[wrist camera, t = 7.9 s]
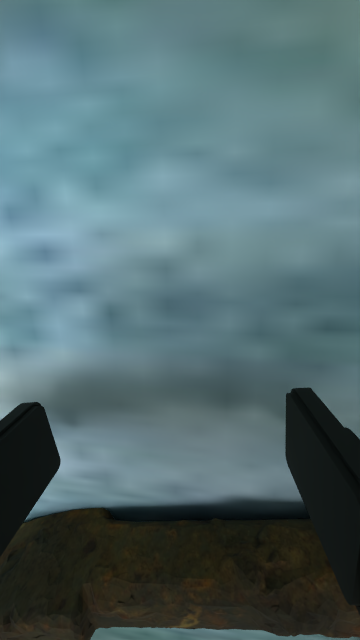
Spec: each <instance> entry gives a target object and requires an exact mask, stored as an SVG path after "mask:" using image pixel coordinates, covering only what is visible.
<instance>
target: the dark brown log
mask: <svg viewBox="0 0 360 640" xmlns="http://www.w3.org/2000/svg"><path fill="white" fill-rule="evenodd" d="M111 627H139V628H143V627H151V628H155V627H158V628H174V627H175V628H184V629H197V628H206V629H216V630H221V629H243V630H264V631H267V632H271V633H273V634H276V635H278V636H290V635H292V636H297V635H299V634H303V635H313V634H322V635H324V636H326V637H332V638H350V637H352V636H354V637H360V615H359V613H358V610H357V608H356V606H355V605H349V604H348V603H347V601H346V599H345V598H344V595H343V593H342V591H341V589H340V586H339V584H338V582H337V579H336V577H335V575H334V572H333V570H332V568H331V565H330V563H329V560H328V558H327V556H326V553H325V551H324V549H323V546H322V544H321V542H320V539H319V537H318V535H317V532H316V530H315V528H314V525H313V523H312V521H311V519H275V520H222V519H217V518H214V519H213V520H205V521H201V520H196V521H195V520H180V521H146V522H132V521H119V520H115V519H114V517H113V515H112V514H111V513H110V512H109V511H108V510H106V509H104V508H87V509H78V510H70V511H65V512H60V513H56V514H52V515H47V516H44V517H41V518H37V519H34V520H31V521H29V522H26V523H22V525H21V526H20V528H19V530H18V531H17V533H16V534H15V536H14V537H13V539H12V540H11V542H10V543H9V545H8V546H7V548H6V549H5V551H4V552H3V554H2V555H1V557H0V640H90V639H91V637H92V635H93V633H94V632H95V630H96V629H98V628H111Z"/></svg>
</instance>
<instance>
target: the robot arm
mask: <svg viewBox="0 0 360 640" xmlns="http://www.w3.org/2000/svg"><path fill="white" fill-rule="evenodd" d="M285 453H286V460H287V464H288V467H289V469H290V471H291V474H292V476H293V478H294V481H295V483H296V485H297V488H298V490H299V492H300V495H301V497H302V499H303V502H304V504H305V506H306V509H307V511H308V513H309V516H310V518H311V521H312V523H313V525H314V528H315V530H316V532H317V535H318V537H319V539H320V542H321V544H322V546H323V549H324V551H325V553H326V556H327V558H328V560H329V563H330V565H331V568H332V570H333V572H334V575H335V577H336V579H337V582H338V584H339V586H340V589H341V591H342V593H343V595H344V598H345V599H346V601H347V603H348V604H349V605H355V606H356V608H357V610H358V613H359V615H360V440H359V438H358V437H357V436H356V435H355V434H354V433H353V432H352V431H351V430H350V429H348V428H346V427H345V428H344V427H343V426H342V424H341V423H340V422H339V421H338V420H337V419H336V417H335V416H334V415H333V414H332V413H331V412H330V410H329V409H328V408H327V407H326V406H325V404H324V403H323V402H322V401H321V400H320V399H319V397H318V396H317V395H316V394H315V393H314V391H313V390H312V389H311V388H294V389H292V390H291V393H287V394H286V452H285ZM59 466H60V456H59V453H58V450H57V447H56V444H55V441H54V437H53V434H52V431H51V428H50V425H49V422H48V418H47V415H46V412H45V409H44V407H43V406H41V404H40V403H38V402H31V403H22V404H20V405H18V406H17V407H16V408H15V409H14V410H12V411H11V412H10V413H9V414H8V415H6V416H5V417H4V418H3V419H1V420H0V557H1V555H2V554H3V552H4V551H5V549H6V548H7V546H8V545H9V543H10V542H11V540H12V539H13V537H14V536H15V534H16V533H17V531H18V530H19V528H20V526H21V525H22V523H23V522H24V520H25V519H26V517H27V516H28V514H29V513H30V511H31V510H32V508H33V507H34V505H35V504H36V502H37V501H38V499H39V498H40V496H41V495H42V493H43V492H44V490H45V489H46V487H47V486H48V484H49V483H50V481H51V480H52V478H53V477H54V475H55V474H56V472H57V471H58V469H59Z"/></svg>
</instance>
